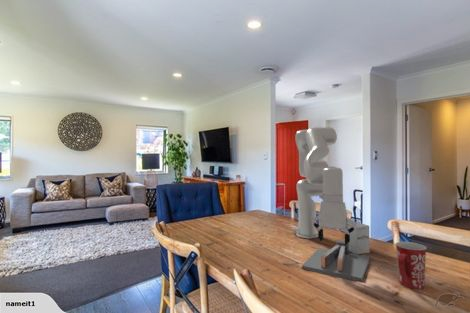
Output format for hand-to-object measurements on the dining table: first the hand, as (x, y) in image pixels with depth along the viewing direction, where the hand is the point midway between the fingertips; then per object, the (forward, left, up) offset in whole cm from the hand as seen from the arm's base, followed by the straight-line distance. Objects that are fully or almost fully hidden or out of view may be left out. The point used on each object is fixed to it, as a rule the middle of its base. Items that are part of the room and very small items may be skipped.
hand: (333, 241), depth 107 cm
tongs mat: (0, +6, -11) cm, 13 cm away
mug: (+25, -1, -11) cm, 27 cm away
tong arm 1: (-2, +5, -9) cm, 11 cm away
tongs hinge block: (0, +17, -10) cm, 19 cm away
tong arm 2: (+2, +5, -9) cm, 11 cm away
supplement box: (+5, +26, -11) cm, 29 cm away
